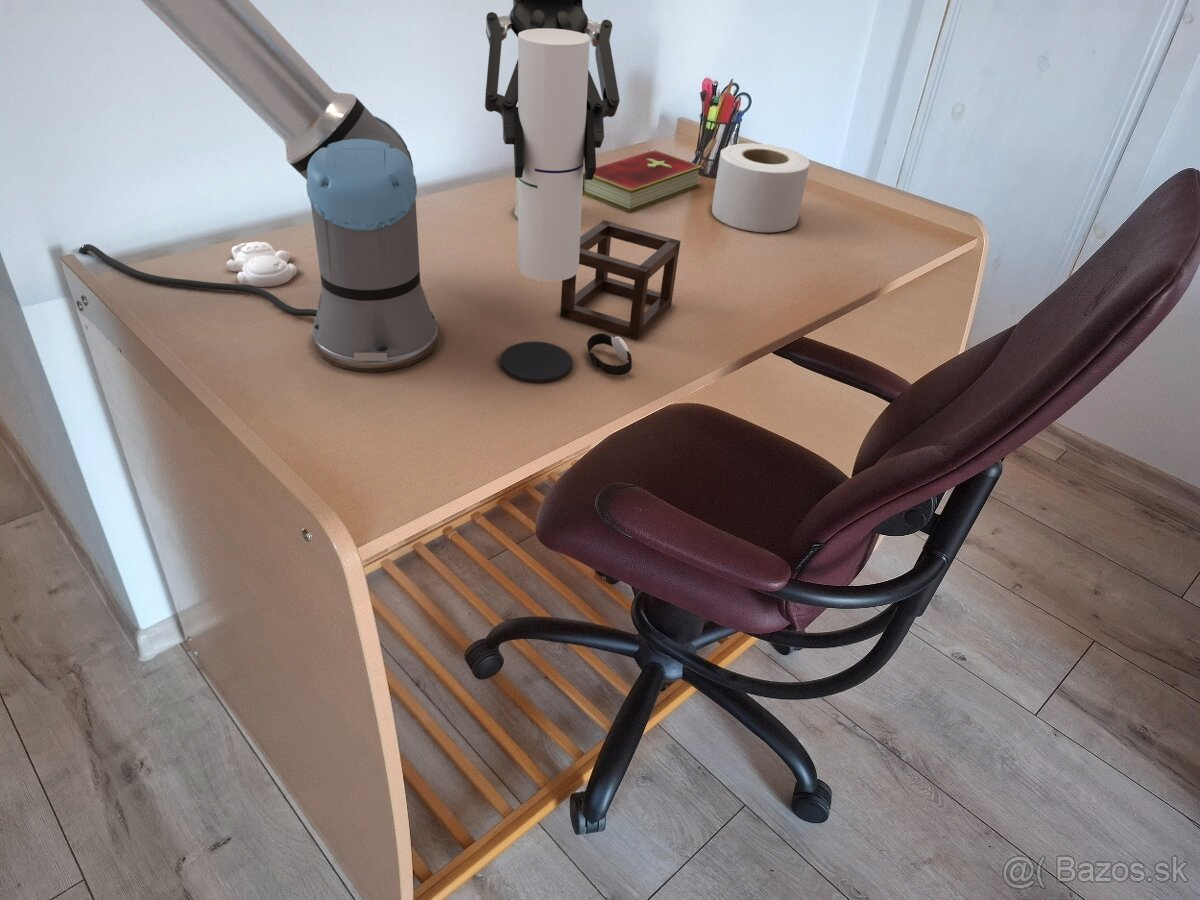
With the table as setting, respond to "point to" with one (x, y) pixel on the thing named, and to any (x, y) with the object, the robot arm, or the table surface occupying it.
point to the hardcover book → (641, 180)
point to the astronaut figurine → (261, 265)
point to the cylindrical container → (551, 150)
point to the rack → (636, 292)
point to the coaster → (536, 362)
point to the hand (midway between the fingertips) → (555, 172)
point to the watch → (619, 348)
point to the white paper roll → (759, 187)
